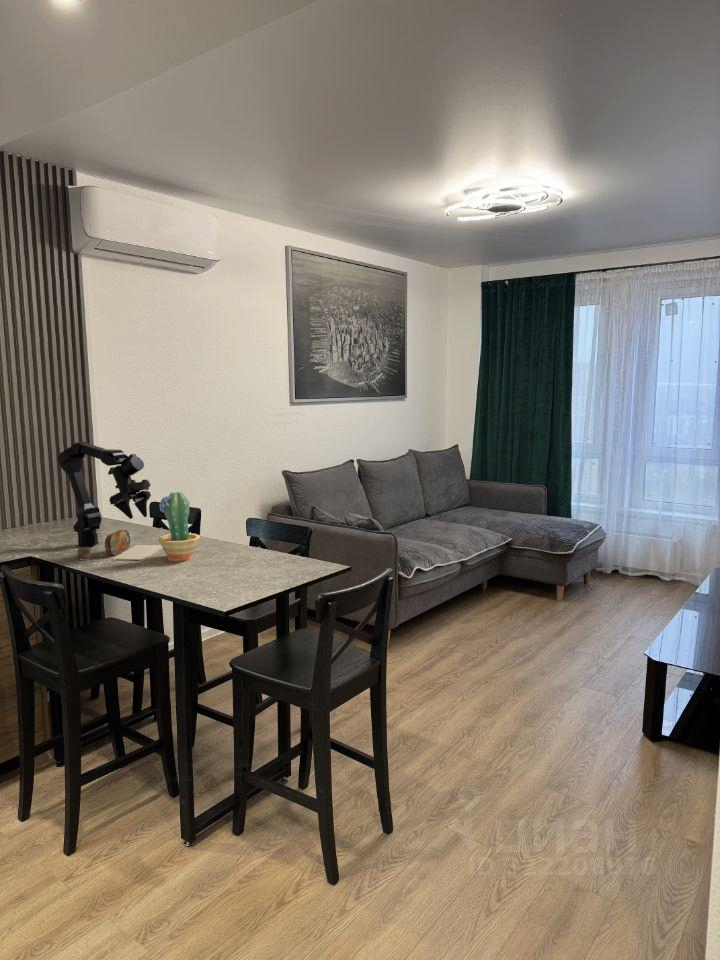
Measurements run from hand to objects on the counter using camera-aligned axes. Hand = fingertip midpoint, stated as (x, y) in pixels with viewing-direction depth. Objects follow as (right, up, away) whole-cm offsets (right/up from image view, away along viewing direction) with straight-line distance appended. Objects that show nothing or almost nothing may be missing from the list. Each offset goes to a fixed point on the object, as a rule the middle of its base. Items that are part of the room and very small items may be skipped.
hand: (138, 517), depth 252 cm
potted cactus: (+17, -15, -5) cm, 23 cm away
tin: (-9, -14, +3) cm, 17 cm away
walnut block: (-18, -15, -6) cm, 24 cm away
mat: (-1, -14, +2) cm, 14 cm away
